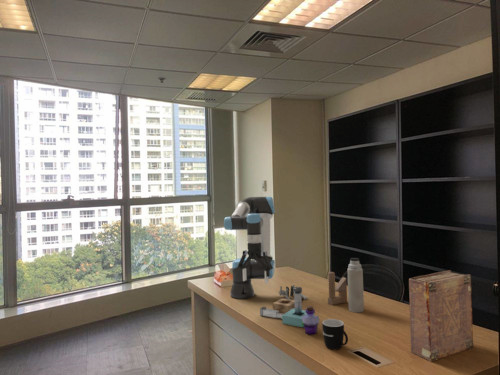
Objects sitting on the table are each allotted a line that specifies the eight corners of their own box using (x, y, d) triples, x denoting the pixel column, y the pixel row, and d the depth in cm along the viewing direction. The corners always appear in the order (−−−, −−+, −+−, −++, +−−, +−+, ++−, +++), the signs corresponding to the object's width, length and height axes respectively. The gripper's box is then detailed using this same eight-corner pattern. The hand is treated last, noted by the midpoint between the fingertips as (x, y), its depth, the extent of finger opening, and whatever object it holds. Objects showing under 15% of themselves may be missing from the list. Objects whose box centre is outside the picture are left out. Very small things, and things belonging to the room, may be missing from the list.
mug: (318, 346, 160) (317, 322, 160) (332, 340, 165) (332, 317, 165) (340, 355, 150) (339, 330, 150) (355, 349, 155) (354, 325, 155)
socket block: (282, 323, 187) (282, 315, 187) (293, 316, 197) (292, 308, 197) (304, 327, 181) (304, 319, 181) (314, 319, 191) (314, 311, 191)
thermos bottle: (350, 307, 209) (348, 256, 209) (364, 308, 205) (363, 257, 205) (347, 311, 201) (345, 259, 201) (362, 313, 198) (361, 260, 198)
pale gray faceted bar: (260, 315, 199) (259, 308, 199) (263, 313, 202) (263, 306, 202) (282, 319, 192) (282, 312, 192) (286, 317, 195) (285, 310, 195)
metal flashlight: (292, 322, 188) (291, 288, 188) (296, 319, 192) (295, 286, 192) (300, 323, 186) (299, 289, 186) (304, 320, 190) (303, 287, 190)
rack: (273, 312, 204) (272, 303, 204) (281, 307, 212) (281, 298, 212) (289, 315, 198) (289, 305, 198) (298, 309, 207) (297, 300, 207)
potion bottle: (298, 330, 177) (297, 305, 177) (314, 327, 180) (313, 302, 180) (307, 337, 169) (306, 310, 169) (323, 334, 172) (323, 308, 172)
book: (452, 339, 162) (450, 270, 162) (473, 347, 153) (471, 274, 153) (410, 352, 151) (408, 278, 150) (431, 362, 142) (428, 283, 142)
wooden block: (347, 302, 217) (346, 271, 216) (331, 305, 213) (330, 273, 213) (343, 300, 220) (342, 270, 220) (327, 303, 216) (326, 272, 216)
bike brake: (276, 295, 232) (294, 309, 215) (276, 285, 231) (295, 298, 214) (294, 292, 239) (313, 305, 221) (295, 282, 238) (314, 294, 220)
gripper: (231, 242, 206) (232, 281, 206) (271, 244, 194) (273, 285, 194) (238, 240, 213) (239, 278, 213) (278, 242, 200) (279, 282, 200)
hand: (255, 281), depth 203 cm, fingers open, 13 cm apart
